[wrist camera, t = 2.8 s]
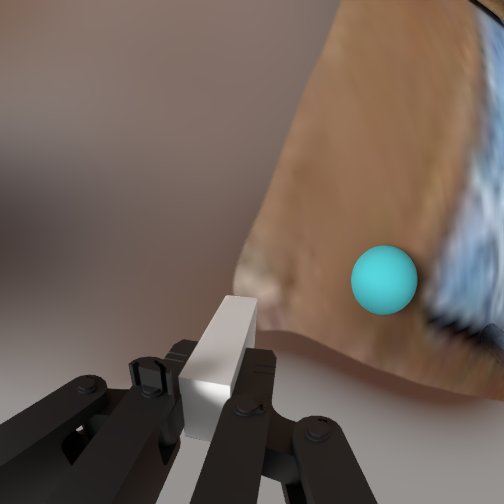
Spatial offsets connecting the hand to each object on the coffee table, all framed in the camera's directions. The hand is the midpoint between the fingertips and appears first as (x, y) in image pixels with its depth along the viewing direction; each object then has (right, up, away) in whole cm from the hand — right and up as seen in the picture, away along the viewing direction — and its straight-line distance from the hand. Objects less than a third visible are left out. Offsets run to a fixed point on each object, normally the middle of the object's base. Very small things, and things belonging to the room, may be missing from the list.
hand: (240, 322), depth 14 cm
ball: (+11, +1, +8) cm, 13 cm away
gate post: (+27, -6, +10) cm, 29 cm away
